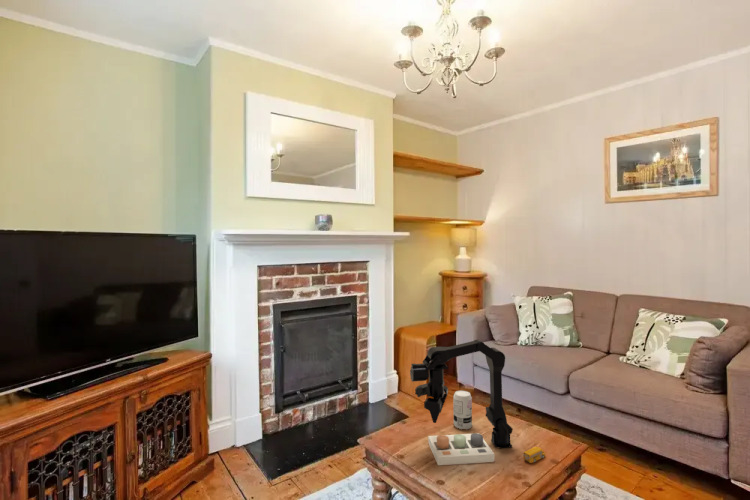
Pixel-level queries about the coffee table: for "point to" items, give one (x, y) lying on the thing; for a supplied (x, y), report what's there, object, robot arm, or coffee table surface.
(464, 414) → the supplement can
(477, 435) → the charcoal button
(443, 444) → the rust button
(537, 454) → the toy bus
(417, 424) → the coffee table surface
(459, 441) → the sage button
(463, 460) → the panel
